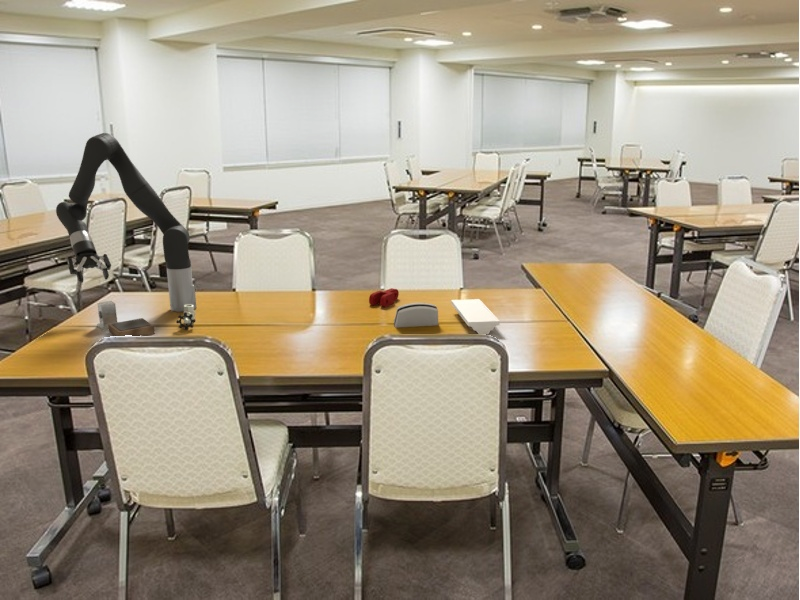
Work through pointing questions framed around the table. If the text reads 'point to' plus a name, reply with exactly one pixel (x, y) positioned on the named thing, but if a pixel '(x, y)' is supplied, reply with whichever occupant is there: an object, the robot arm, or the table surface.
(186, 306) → the valve
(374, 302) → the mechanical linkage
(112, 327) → the stand
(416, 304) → the grey napkin holder
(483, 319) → the shelf
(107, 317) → the block
